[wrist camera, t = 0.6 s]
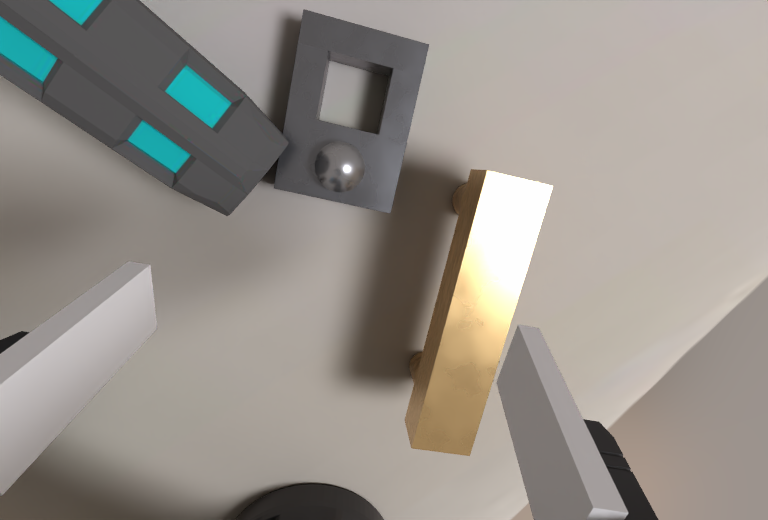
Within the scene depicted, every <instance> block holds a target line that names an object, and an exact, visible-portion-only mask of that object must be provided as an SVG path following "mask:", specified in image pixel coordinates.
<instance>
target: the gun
mask: <svg viewBox="0 0 768 520" xmlns="http://www.w3.org/2000/svg"><path fill="white" fill-rule="evenodd" d="M0 75H1V76H3V77H4V78H6V79H7V80H9V81H10V82H12V83H13V84H15V85H16V86H18V87H19V88H21V89H22V90H24V91H25V92H27V93H28V94H30V95H31V96H33V97H34V98H36V99H37V100H39V101H40V102H42V103H43V104H45V105H46V106H48V107H50V108H51V109H53V110H54V111H56V112H57V113H59V114H60V115H62V116H63V117H65V118H66V119H68V120H69V121H71V122H72V123H74V124H75V125H77V126H78V127H80V128H81V129H83V130H84V131H86V132H87V133H89V134H90V135H92V136H93V137H95V138H96V139H98V140H99V141H101V142H102V143H104V144H105V145H107V146H108V147H110V148H111V149H113V150H114V151H116V152H117V153H119V154H120V155H122V156H124V157H125V158H127V159H128V160H130V161H131V162H133V163H134V164H136V165H137V166H139V167H140V168H142V169H143V170H145V171H146V172H148V173H149V174H151V175H152V176H154V177H155V178H157V179H158V180H160V181H161V182H163V183H164V184H166V185H167V186H169V187H170V188H172V189H174V190H176V191H178V192H180V193H182V194H184V195H186V196H188V197H190V198H192V199H194V200H196V201H198V202H200V203H202V204H204V205H206V206H208V207H210V208H212V209H214V210H216V211H218V212H220V213H222V214H224V215H226V216H228V215H230V214H231V213H232V212H233V211H234V209H235V208H236V207H237V206H238V205H239V204H240V203H241V202H242V201H243V200H244V199H245V198H246V196H247V195H248V194H249V193H250V192H251V191H252V189H253V188H254V187H255V186H256V185H257V183H258V182H259V181H260V180H261V179H262V178H263V176H264V175H265V174H266V173H267V172H268V170H269V169H270V168H271V167H272V165H273V164H274V163H275V161H276V160H277V159H278V157H279V156H280V155H281V154H282V152H283V151H284V150H285V148H286V147H287V145H288V143H289V142H288V141H287V139H286V138H285V136H284V135H283V134H282V133H281V132H280V131H279V129H278V128H277V127H276V126H275V125H274V124H273V123H272V122H271V121H270V120H269V119H268V118H267V116H266V115H265V114H264V113H263V112H262V111H261V110H260V109H259V108H258V107H257V106H256V104H255V103H254V102H253V101H252V100H251V99H250V98H249V97H248V96H247V95H246V94H245V92H243V91H242V90H241V89H240V88H239V87H238V86H237V85H235V84H234V83H233V82H232V81H231V80H230V79H229V78H227V77H226V76H225V75H224V74H223V73H222V72H221V71H219V70H218V69H217V68H216V67H215V66H214V65H213V64H211V63H210V62H209V61H208V60H207V59H206V58H205V57H203V56H202V55H201V54H200V53H199V52H198V51H197V50H196V49H194V48H193V47H192V46H191V45H190V44H189V43H188V42H186V41H185V40H184V39H183V38H182V37H181V36H180V35H178V34H177V33H176V32H175V31H174V30H173V29H172V28H170V27H169V26H168V25H167V24H166V23H165V22H164V21H162V20H161V19H160V18H159V17H158V16H157V15H156V14H154V13H153V12H152V11H151V10H150V9H149V8H148V7H146V6H145V5H144V4H143V3H142V2H141V1H140V0H0Z"/></svg>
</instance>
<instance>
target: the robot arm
mask: <svg viewBox="0 0 768 520" xmlns="http://www.w3.org/2000/svg"><path fill="white" fill-rule="evenodd" d="M156 329H157V319H156V310H155V301H154V292H153V284H152V275H151V266H150V264H144V263H137V262H131V261H128V262H126V263H125V264H124V265H122V266H121V267H120V268H118V269H117V270H115V271H114V272H113V273H111V274H110V275H109V276H107V277H106V278H104V279H103V280H102V281H100V282H99V283H97V284H96V285H95V286H93V287H92V288H91V289H89V290H88V291H86V292H85V293H84V294H82V295H81V296H80V297H78V298H77V299H75V300H74V301H73V302H71V303H70V304H69V305H67V306H66V307H64V308H63V309H62V310H60V311H59V312H57V313H56V314H55V315H53V316H52V317H51V318H49V319H48V320H46V321H45V322H44V323H42V324H41V325H40V326H38V327H37V328H35V329H34V330H33V331H31V332H30V333H29V332H23V331H21V332H19V333H16V334H14V335H12V336H9V337H7V338H5V339H2V340H0V496H2V495H3V494H4V493H5V492H6V491H7V490H8V489H9V488H10V487H11V486H12V484H13V483H14V482H15V481H16V480H17V479H18V478H19V477H20V476H21V475H22V474H23V473H24V472H25V470H26V469H27V468H28V467H29V466H30V465H31V464H32V463H33V462H34V461H35V460H36V459H37V458H38V456H39V455H40V454H41V453H42V452H43V451H44V450H45V449H46V448H47V447H48V446H49V445H50V444H51V442H52V441H53V440H54V439H55V438H56V437H57V436H58V435H59V434H60V433H61V432H62V431H63V430H64V428H65V427H66V426H67V425H68V424H69V423H70V422H71V421H72V420H73V419H74V418H75V417H76V416H77V414H78V413H79V412H80V411H81V410H82V409H83V408H84V407H85V406H86V405H87V404H88V403H89V402H90V400H91V399H92V398H93V397H94V396H95V395H96V394H97V393H98V392H99V391H100V390H101V389H102V388H103V386H104V385H105V384H106V383H107V382H108V381H109V380H110V379H111V378H112V377H113V376H114V375H115V374H116V372H117V371H118V370H119V369H120V368H121V367H122V366H123V365H124V364H125V363H126V362H127V361H128V360H129V358H130V357H131V356H132V355H133V354H134V353H135V352H136V351H137V350H138V349H139V348H140V347H141V346H142V344H143V343H144V342H145V341H146V340H147V339H148V338H149V337H150V336H151V335H152V334H153V333H154V332H155V330H156ZM497 386H498V390H499V393H500V397H501V401H502V404H503V408H504V412H505V416H506V419H507V423H508V427H509V430H510V434H511V438H512V441H513V445H514V449H515V452H516V456H517V460H518V463H519V467H520V471H521V474H522V478H523V482H524V485H525V489H526V493H527V496H528V500H529V504H530V507H531V511H532V515H533V519H534V520H658V518H657V517H656V515H655V513H654V511H653V509H652V507H651V505H650V503H649V502H648V500H647V498H646V496H645V494H644V492H643V491H642V489H641V487H640V485H639V483H638V481H637V479H636V478H635V476H634V474H633V472H631V471H630V467H629V465H628V463H627V461H626V459H625V458H623V454H622V452H621V450H620V448H619V446H618V445H617V443H616V441H615V439H614V437H613V436H612V435H611V434H610V433H609V432H608V431H607V430H606V429H605V428H604V427H603V426H602V424H601V423H600V422H597V421H591V420H584V419H583V418H582V416H581V414H580V412H579V410H578V407H577V405H576V403H575V401H574V399H573V397H572V395H571V393H570V391H569V389H568V387H567V385H566V383H565V381H564V379H563V376H562V374H561V372H560V370H559V368H558V366H557V364H556V362H555V360H554V358H553V356H552V354H551V352H550V350H549V348H548V346H547V343H546V341H545V339H544V337H543V335H542V333H541V331H540V329H539V328H536V327H530V326H523V325H518V326H517V329H516V331H515V334H514V337H513V340H512V342H511V345H510V348H509V350H508V353H507V356H506V358H505V361H504V364H503V366H502V369H501V372H500V375H499V377H498V380H497ZM236 520H384V519H383V518H382V516H381V515H380V513H379V512H378V511H377V510H376V509H375V508H374V507H373V506H372V505H371V504H370V503H369V502H367V501H366V500H365V499H363V498H362V497H360V496H358V495H356V494H354V493H352V492H350V491H347V490H345V489H341V488H338V487H334V486H328V485H319V484H307V485H297V486H291V487H287V488H283V489H280V490H277V491H275V492H272V493H270V494H267V495H265V496H264V497H262V498H260V499H258V500H257V501H255V502H254V503H252V504H251V505H250V506H249V507H247V508H246V509H245V510H244V511H243V512H242V513H241V514H240V515H239V516H238V517H237V519H236Z"/></svg>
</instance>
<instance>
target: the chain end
mask: <svg viewBox="0 0 768 520" xmlns="http://www.w3.org/2000/svg"><path fill="white" fill-rule="evenodd" d="M428 47H429V44H425V43H421V42H418V41H414V40H411V39H407V38H404V37H400V36H397V35H393V34H390V33H386V32H382V31H379V30H375V29H372V28H368V27H365V26H361V25H358V24H354V23H350V22H347V21H343V20H340V19H336V18H333V17H329V16H326V15H322V14H319V13H315V12H311V11H308V10H303V16H302V22H301V28H300V34H299V40H298V46H297V52H296V58H295V64H294V70H293V76H292V82H291V88H290V94H289V100H288V106H287V112H286V118H285V124H284V130H283V135H284V136H285V138H286V139H287V141H288V142H289V143H288V145H287V147H286V148H285V150H284V151H283V152H282V154H281V155H280V156H279V160H278V166H277V172H276V178H275V184H274V188H275V189H280V190H284V191H289V192H294V193H298V194H303V195H307V196H312V197H317V198H321V199H326V200H331V201H335V202H340V203H344V204H349V205H354V206H358V207H363V208H368V209H372V210H377V211H381V212H386V213H391V209H392V205H393V200H394V196H395V191H396V187H397V183H398V178H399V174H400V170H401V165H402V161H403V157H404V152H405V148H406V143H407V139H408V135H409V130H410V126H411V122H412V117H413V113H414V108H415V104H416V100H417V95H418V91H419V87H420V82H421V78H422V74H423V69H424V65H425V60H426V56H427V52H428ZM329 61H334V62H338V63H342V64H345V65H349V66H353V67H357V68H360V69H364V70H368V71H372V72H376V73H379V74H383V75H387V76H389V80H388V84H387V89H386V94H385V98H384V103H383V108H382V112H381V117H380V122H379V126H378V131H377V134H373V133H369V132H365V131H361V130H357V129H353V128H349V127H344V126H340V125H336V124H332V123H328V122H324V121H320V120H319V116H320V111H321V105H322V100H323V94H324V89H325V83H326V78H327V72H328V67H329Z"/></svg>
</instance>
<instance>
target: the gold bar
mask: <svg viewBox="0 0 768 520" xmlns="http://www.w3.org/2000/svg"><path fill="white" fill-rule="evenodd" d="M552 187H553V186H551V185H546V184H542V183H538V182H534V181H530V180H526V179H522V178H517V177H513V176H509V175H505V174H501V173H497V172H492V171H488V170H474V169H471V171H470V175H469V179H468V182H467V183H466V184H463V185H461V186H460V187H458V188H457V189H456V191H455V192H454V194H453V198H452V205H453V208H454V210H455V211H456V212H457V213H458V214H459V217H458V220H457V224H456V228H455V232H454V235H453V239H452V243H451V247H450V251H449V254H448V258H447V262H446V266H445V269H444V273H443V277H442V281H441V285H440V288H439V292H438V296H437V300H436V304H435V307H434V311H433V315H432V319H431V322H430V326H429V330H428V334H427V338H426V341H425V345H424V349H423V352H419V353H417V354H416V355H415V356H413V358H412V359H411V361H410V364H409V369H410V373H411V376H412V379H413V382H414V387H413V391H412V394H411V398H410V402H409V406H408V409H407V413H406V417H405V423H406V427H407V432H408V436H409V440H410V444H411V448H413V449H421V450H429V451H436V452H444V453H451V454H459V455H466V456H470V453H471V450H472V447H473V444H474V440H475V437H476V434H477V431H478V427H479V424H480V421H481V418H482V414H483V411H484V408H485V405H486V401H487V398H488V395H489V392H490V388H491V385H492V382H493V379H494V375H495V372H496V369H497V366H498V362H499V359H500V356H501V353H502V349H503V346H504V343H505V340H506V336H507V333H508V330H509V327H510V324H511V320H512V317H513V314H514V311H515V307H516V304H517V301H518V298H519V294H520V291H521V288H522V285H523V281H524V278H525V275H526V272H527V268H528V265H529V262H530V259H531V255H532V252H533V249H534V246H535V242H536V239H537V236H538V233H539V229H540V226H541V223H542V220H543V216H544V213H545V210H546V207H547V203H548V200H549V197H550V194H551V190H552Z"/></svg>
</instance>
